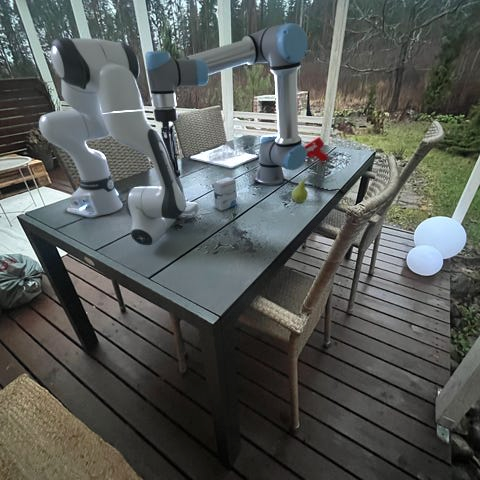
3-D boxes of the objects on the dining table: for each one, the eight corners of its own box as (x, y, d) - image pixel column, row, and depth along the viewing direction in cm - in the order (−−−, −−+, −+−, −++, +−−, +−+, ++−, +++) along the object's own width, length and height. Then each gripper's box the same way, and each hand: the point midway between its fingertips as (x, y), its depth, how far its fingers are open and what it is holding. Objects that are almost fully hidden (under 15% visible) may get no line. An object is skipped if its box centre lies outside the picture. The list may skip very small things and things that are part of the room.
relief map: (232, 168, 162) (231, 159, 159) (190, 158, 179) (189, 150, 177) (257, 157, 180) (257, 149, 177) (217, 149, 198) (217, 142, 195)
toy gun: (332, 156, 168) (319, 135, 164) (331, 158, 165) (319, 137, 161) (306, 172, 178) (294, 152, 174) (305, 174, 175) (293, 154, 171)
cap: (181, 173, 105) (180, 169, 104) (180, 177, 101) (179, 173, 100) (169, 174, 104) (168, 169, 103) (167, 178, 100) (167, 173, 99)
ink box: (228, 201, 122) (228, 176, 116) (236, 204, 119) (236, 179, 113) (214, 207, 117) (212, 181, 111) (222, 211, 114) (220, 184, 108)
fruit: (288, 200, 123) (290, 174, 116) (302, 197, 125) (305, 172, 119) (296, 206, 118) (299, 179, 111) (310, 203, 120) (314, 177, 114)
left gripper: (189, 209, 94) (202, 194, 105) (136, 204, 97) (154, 190, 109) (191, 225, 97) (204, 208, 108) (139, 220, 101) (157, 204, 112)
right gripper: (158, 104, 97) (167, 168, 110) (147, 111, 82) (160, 184, 95) (179, 104, 97) (186, 168, 110) (172, 111, 83) (182, 184, 95)
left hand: (178, 199), depth 109 cm, fingers closed on bottle, 5 cm apart
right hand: (174, 175), depth 102 cm, fingers open, 4 cm apart
